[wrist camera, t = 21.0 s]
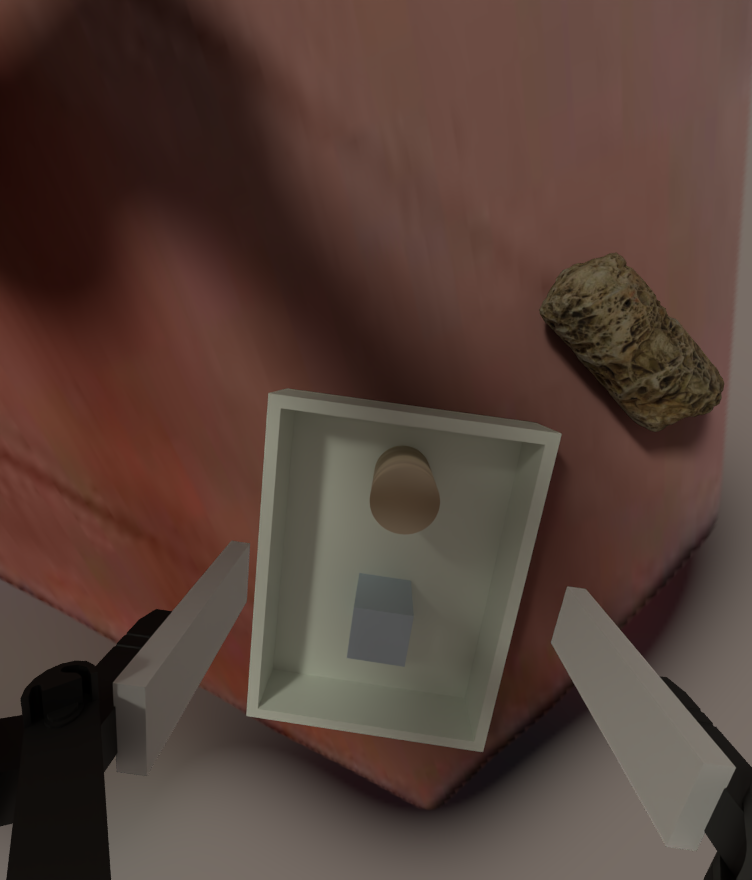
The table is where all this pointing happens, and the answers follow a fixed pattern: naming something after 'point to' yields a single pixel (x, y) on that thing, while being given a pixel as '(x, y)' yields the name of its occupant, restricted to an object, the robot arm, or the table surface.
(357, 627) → the slate cube
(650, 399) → the coral
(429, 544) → the tote
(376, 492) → the beech cylinder
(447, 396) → the table surface
